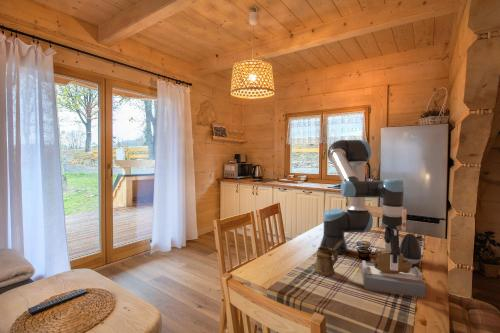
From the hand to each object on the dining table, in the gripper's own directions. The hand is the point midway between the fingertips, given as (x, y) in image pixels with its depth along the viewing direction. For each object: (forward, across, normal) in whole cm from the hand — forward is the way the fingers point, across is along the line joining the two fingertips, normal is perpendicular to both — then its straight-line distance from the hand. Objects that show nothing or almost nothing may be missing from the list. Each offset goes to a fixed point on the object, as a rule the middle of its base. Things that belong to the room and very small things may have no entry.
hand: (390, 263), depth 114 cm
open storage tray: (+9, 0, 0) cm, 9 cm away
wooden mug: (+9, +2, +26) cm, 28 cm away
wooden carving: (+4, 0, 0) cm, 4 cm away
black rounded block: (+9, +28, -14) cm, 33 cm away
